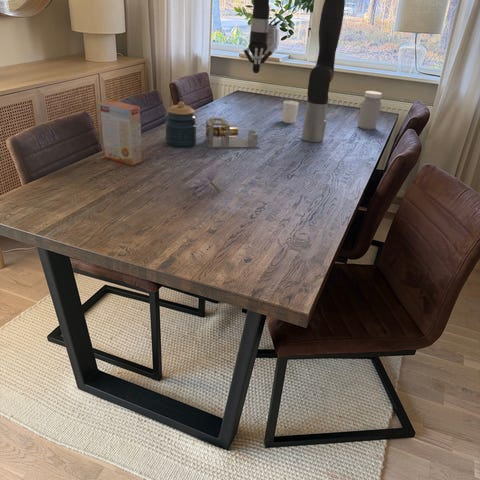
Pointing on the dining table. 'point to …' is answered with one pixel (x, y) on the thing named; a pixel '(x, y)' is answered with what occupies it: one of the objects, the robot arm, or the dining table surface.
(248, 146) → the collar stand
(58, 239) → the dining table surface
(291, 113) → the white cup
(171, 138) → the canister
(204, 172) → the water lily
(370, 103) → the jar
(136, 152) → the cracker box
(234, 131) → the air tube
